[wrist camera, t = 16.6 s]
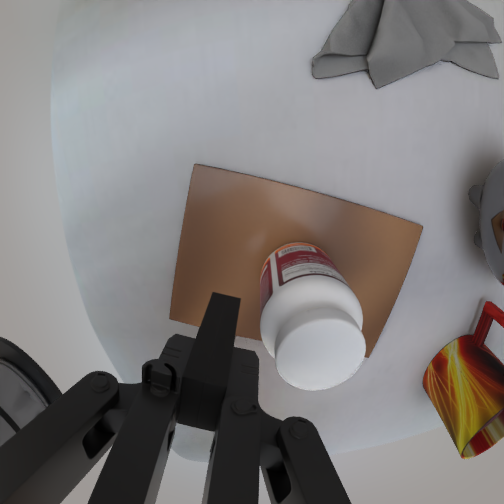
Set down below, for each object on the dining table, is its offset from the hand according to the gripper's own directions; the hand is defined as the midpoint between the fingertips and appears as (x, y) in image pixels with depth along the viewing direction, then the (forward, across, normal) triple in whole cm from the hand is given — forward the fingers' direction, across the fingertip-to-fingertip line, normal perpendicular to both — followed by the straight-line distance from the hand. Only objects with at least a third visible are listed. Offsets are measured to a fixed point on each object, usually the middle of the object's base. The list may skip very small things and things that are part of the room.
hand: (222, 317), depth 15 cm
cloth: (+10, +11, +27) cm, 31 cm away
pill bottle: (+9, +5, 0) cm, 10 cm away
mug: (+10, +28, -6) cm, 30 cm away
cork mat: (+10, +5, 0) cm, 11 cm away
